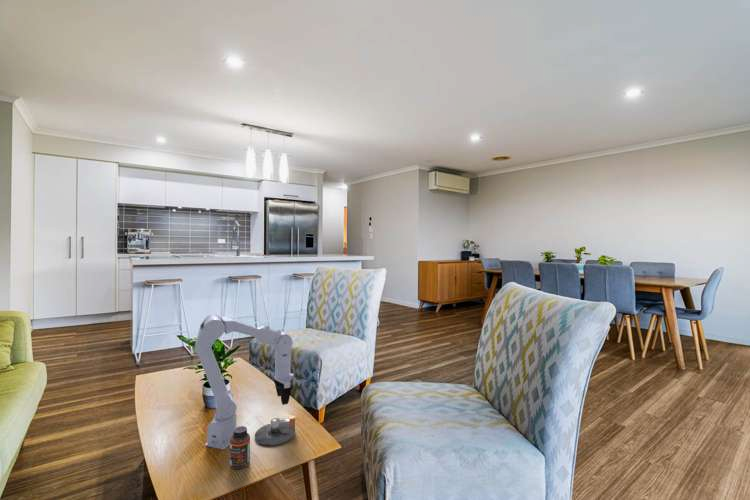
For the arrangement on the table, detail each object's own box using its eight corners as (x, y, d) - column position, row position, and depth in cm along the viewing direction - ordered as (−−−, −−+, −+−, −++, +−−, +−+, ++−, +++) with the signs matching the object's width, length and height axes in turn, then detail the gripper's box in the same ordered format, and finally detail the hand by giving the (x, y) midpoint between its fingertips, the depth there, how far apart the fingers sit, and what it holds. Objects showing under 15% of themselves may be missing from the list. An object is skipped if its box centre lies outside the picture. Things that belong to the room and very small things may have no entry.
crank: (270, 434, 127) (270, 421, 127) (270, 429, 130) (270, 417, 130) (295, 431, 129) (295, 419, 129) (295, 427, 132) (295, 414, 132)
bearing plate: (281, 449, 120) (281, 446, 120) (246, 442, 125) (246, 438, 125) (302, 428, 134) (302, 425, 134) (269, 422, 138) (269, 419, 138)
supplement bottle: (228, 472, 109) (228, 435, 108) (231, 460, 114) (230, 425, 114) (249, 468, 110) (249, 432, 110) (250, 457, 116) (250, 423, 116)
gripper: (298, 368, 130) (298, 405, 131) (288, 357, 143) (288, 390, 144) (278, 372, 127) (278, 409, 128) (270, 359, 140) (270, 393, 140)
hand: (282, 399), depth 135 cm, fingers open, 7 cm apart
